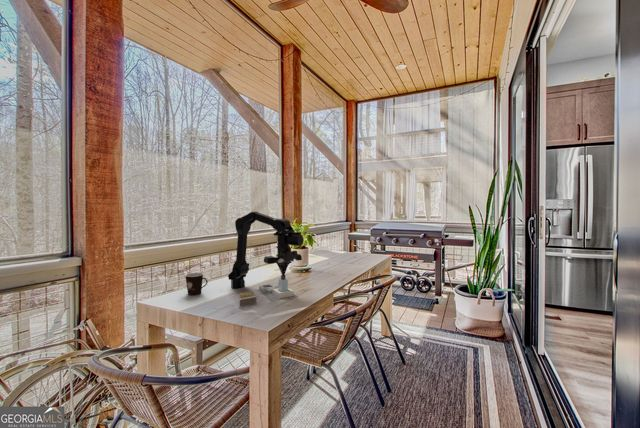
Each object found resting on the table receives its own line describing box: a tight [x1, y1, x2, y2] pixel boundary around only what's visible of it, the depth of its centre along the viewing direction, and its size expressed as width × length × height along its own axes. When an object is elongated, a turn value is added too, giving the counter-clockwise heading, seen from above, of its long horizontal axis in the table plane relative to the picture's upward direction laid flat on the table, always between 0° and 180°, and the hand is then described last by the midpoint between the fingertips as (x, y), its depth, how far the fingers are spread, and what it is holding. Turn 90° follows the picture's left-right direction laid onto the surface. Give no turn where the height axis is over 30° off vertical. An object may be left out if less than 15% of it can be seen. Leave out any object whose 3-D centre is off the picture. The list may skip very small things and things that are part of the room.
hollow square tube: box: [258, 283, 276, 293], centre depth 160 cm, size 6×6×2 cm
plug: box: [278, 274, 289, 292], centre depth 154 cm, size 3×3×10 cm
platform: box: [236, 291, 260, 306], centre depth 141 cm, size 12×18×7 cm, turn 124°
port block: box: [273, 287, 295, 298], centre depth 154 cm, size 8×8×3 cm
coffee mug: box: [184, 272, 209, 297], centre depth 158 cm, size 12×9×10 cm
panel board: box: [255, 285, 299, 302], centre depth 157 cm, size 14×22×1 cm, turn 33°
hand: (283, 275), depth 154 cm, fingers closed, pressing on plug
